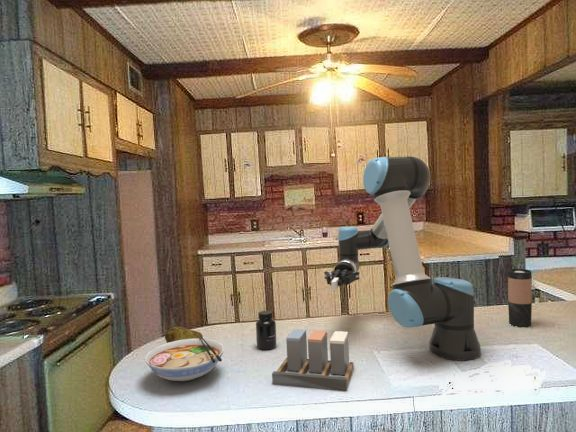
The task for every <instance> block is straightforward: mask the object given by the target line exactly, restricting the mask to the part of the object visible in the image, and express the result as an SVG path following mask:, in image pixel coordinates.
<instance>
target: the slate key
mask: <svg viewBox="0 0 576 432" xmlns="http://www.w3.org/2000/svg"><path fill="white" fill-rule="evenodd" d="M285 341H286V358H287V364H288V368H287V371H291V372H294V371H295V372H299V371H300V370H301V368H302V367H303V365H304V363H305V362H306V360H307V359H308V338H307V329H300V328H294V329H292V330H291V332H290V333H289V334H288V335H287V336H286V340H285Z"/></svg>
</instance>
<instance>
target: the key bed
mask: <svg viewBox="0 0 576 432" xmlns="http://www.w3.org/2000/svg"><path fill="white" fill-rule="evenodd" d="M354 367H355V366H354V362H353V361H349V366H348V368H347V371H346V374H345V375H344V376H335V375H334V376H333V375H329V374H330V373H331V359H328V362H327V364H326V366H325V368H324V370H323V372H322V373H320V374H310V373H308V372H309V358H307V360H306V362H305V363H304V365H303V367H302V368H301V370H300V371H298V372H287V370H288V364H287V357H286V358H284V360H283V362H282V363H281V364H280V366H279V368H277V370H275V371H272V373H271V380H272V381H271V382H272V383H271V384H272V385H277V386H291V387H301V388H309V389H310V388H311V389H321V390H333V391H343V392H346V391H348V390H347V389H348V387H349V384H350V381H351V378H352V375H353V372H354Z"/></svg>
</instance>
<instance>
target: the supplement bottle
mask: <svg viewBox="0 0 576 432" xmlns="http://www.w3.org/2000/svg"><path fill="white" fill-rule="evenodd" d="M257 318H258V319H257V320H256V322H255V330H256V332H255V337H256V347H257V349H259V350H261V351H270V350H273V349H275V348H276V347H277V323H276V320H275V319H274V316H273V311H272V310H261V311H259V312H258V316H257Z"/></svg>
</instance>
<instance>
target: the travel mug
mask: <svg viewBox="0 0 576 432" xmlns="http://www.w3.org/2000/svg"><path fill="white" fill-rule="evenodd" d="M532 293H533V291H532V271H531V269H530V270H529V269H526V268H525V269H524V268H510V269H509V270H508V271H507V305H508V307H507V308H508V323H509V325H510V324H511V325H510V326H512V325H513V326H512V327H515V326H517V327H516V328H521V327H526V328H530V327H531V326H532V315H533V314H532V313H533V312H532V310H533V309H532V308H533V307H532V306H533V298H532V296H533V294H532ZM529 326H530V327H529Z"/></svg>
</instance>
